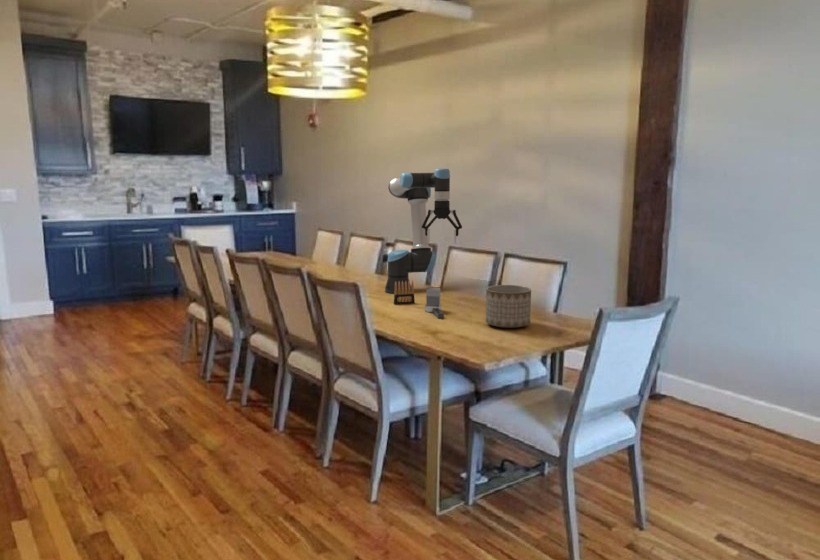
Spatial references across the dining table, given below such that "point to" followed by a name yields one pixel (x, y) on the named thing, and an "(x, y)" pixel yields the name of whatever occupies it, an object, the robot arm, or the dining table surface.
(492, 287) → the planter
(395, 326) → the dining table surface
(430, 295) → the grey rectangular block
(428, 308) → the metal ladle
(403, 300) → the ammunition clip
